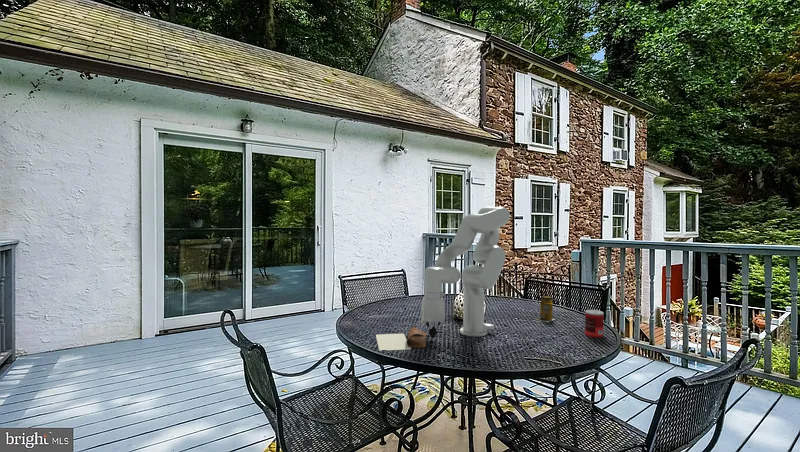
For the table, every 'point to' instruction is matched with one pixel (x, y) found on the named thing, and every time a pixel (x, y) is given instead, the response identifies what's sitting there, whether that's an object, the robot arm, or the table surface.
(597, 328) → the canned food
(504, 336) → the table surface
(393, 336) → the mat
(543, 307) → the condiment
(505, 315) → the table surface
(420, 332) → the sunglasses case
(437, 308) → the robot arm
